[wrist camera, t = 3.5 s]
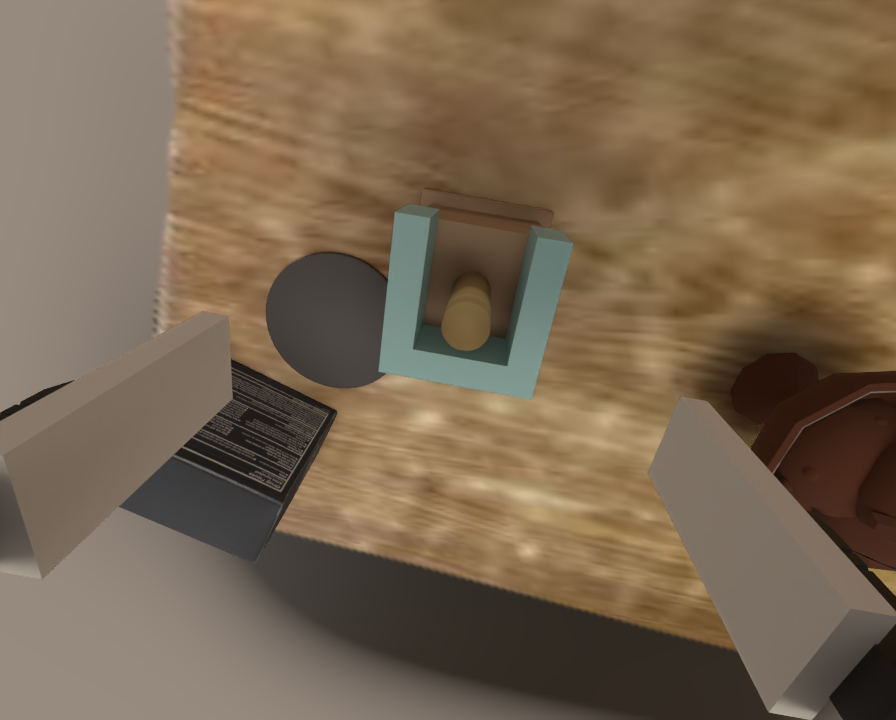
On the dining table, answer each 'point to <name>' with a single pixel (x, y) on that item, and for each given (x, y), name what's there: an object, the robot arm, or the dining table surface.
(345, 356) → the coaster
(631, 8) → the dining table surface
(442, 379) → the c link
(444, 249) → the stand
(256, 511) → the small box
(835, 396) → the ice cream bowl
